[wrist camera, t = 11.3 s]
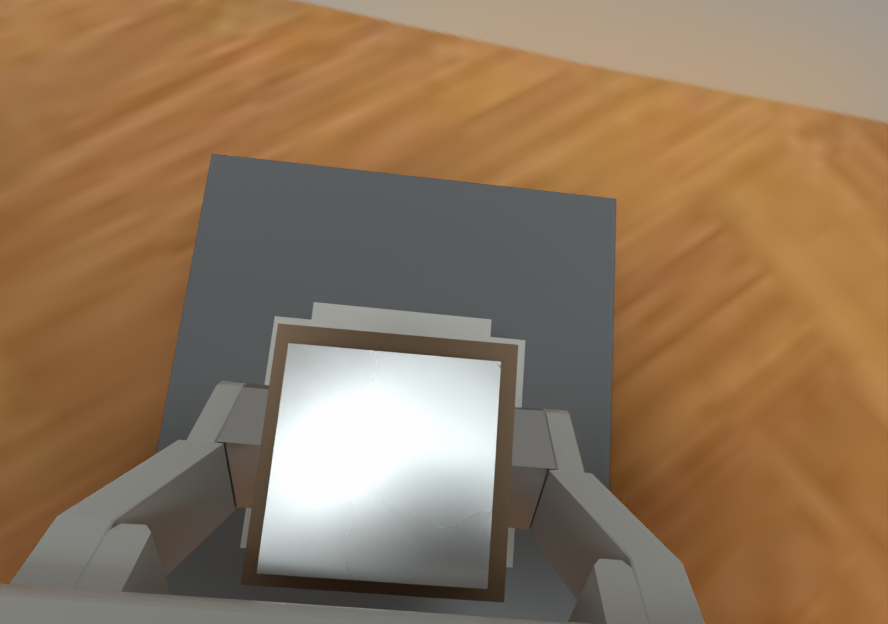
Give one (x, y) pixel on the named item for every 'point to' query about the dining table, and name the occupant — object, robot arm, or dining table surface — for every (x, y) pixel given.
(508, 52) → the dining table surface
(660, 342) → the dining table surface
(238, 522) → the end holder
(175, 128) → the dining table surface
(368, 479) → the plug
